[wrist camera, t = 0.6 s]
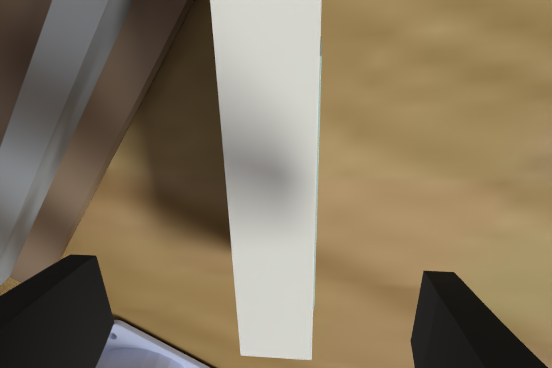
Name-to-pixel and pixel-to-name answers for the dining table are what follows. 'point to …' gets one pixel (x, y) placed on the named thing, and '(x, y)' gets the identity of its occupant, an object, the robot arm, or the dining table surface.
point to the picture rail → (68, 111)
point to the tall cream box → (271, 165)
